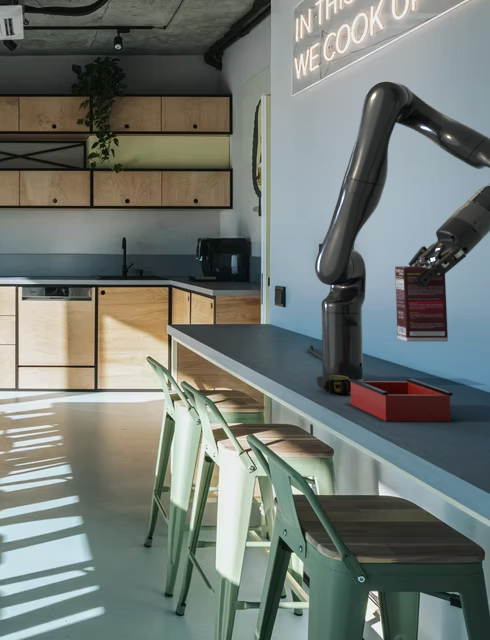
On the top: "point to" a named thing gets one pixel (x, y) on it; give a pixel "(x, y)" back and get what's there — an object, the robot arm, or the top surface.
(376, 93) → the robot arm
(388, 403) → the open red box
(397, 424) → the top surface
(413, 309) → the supplement box
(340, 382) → the tape measure
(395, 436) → the top surface
